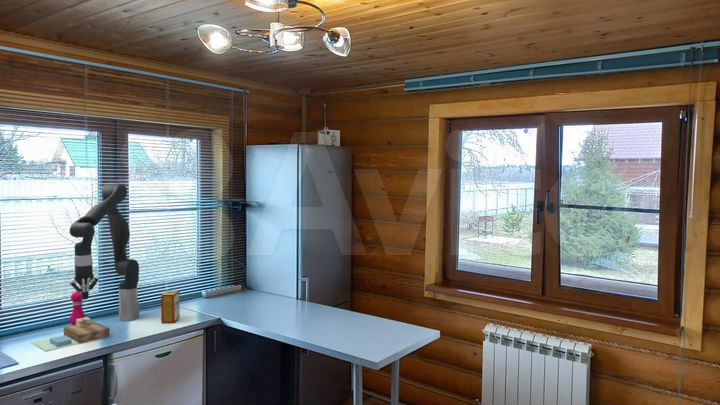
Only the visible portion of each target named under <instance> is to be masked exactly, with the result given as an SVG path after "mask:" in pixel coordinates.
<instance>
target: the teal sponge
mask: <svg viewBox="0 0 720 405" xmlns="http://www.w3.org/2000/svg"><path fill="white" fill-rule="evenodd" d="M62 335H63V336H61V335H58V336H59V337H56V336H53V337H54V338H52V337H49V338H50V343H51V344H53V345H55V346H56V347H60V346H64V345H68V344H72V341H71V339H70V338H68V337H66V336H64V334H62Z"/></svg>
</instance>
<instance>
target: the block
mask: <svg viewBox="0 0 720 405" xmlns="http://www.w3.org/2000/svg"><path fill="white" fill-rule="evenodd" d="M91 322H92V319H91V318H89V317H87V316H86V317H84V318H79V319H76V325H77V326H79V327H83V326H88V325H91Z"/></svg>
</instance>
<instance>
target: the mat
mask: <svg viewBox="0 0 720 405" xmlns="http://www.w3.org/2000/svg"><path fill="white" fill-rule="evenodd" d="M63 335H64V334H62V335H57V336H53V337H48V338H43V339H38V340H34V341H31V344H33V345H35V346H36V347H38V348H39V349H40V350H42V351H44V352H50V351H53V350H57V349H62V348H66V347H70V346H74V345H79V344H80V343H78V342H76V341H75V340H73V339H71V338H70V339H71V341H72V344H68V345H64V346H60V347H56V346H55V345H53V344H51V343H50V338H54V337H59V336H63ZM64 336H65V335H64ZM66 337H67V336H66ZM68 338H69V337H68Z"/></svg>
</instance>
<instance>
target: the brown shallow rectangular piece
mask: <svg viewBox="0 0 720 405" xmlns="http://www.w3.org/2000/svg"><path fill="white" fill-rule="evenodd" d="M110 330H111V329H110V327H108V326H105V325H103V324H102V323H99V322H96V321H94V320H93V321H92V320H91V325H88V326H83V327H79V326H77V325H73V326H71V325H70V326H69V325H68V326H64V327H63V335H65V336H67V337H69V338H71V339H73V340H75V341H76V342H78V343H79V344H83V343H87V342H91V341H95V340H96V341H97V340H100V339H103V338H108V337H110Z"/></svg>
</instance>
